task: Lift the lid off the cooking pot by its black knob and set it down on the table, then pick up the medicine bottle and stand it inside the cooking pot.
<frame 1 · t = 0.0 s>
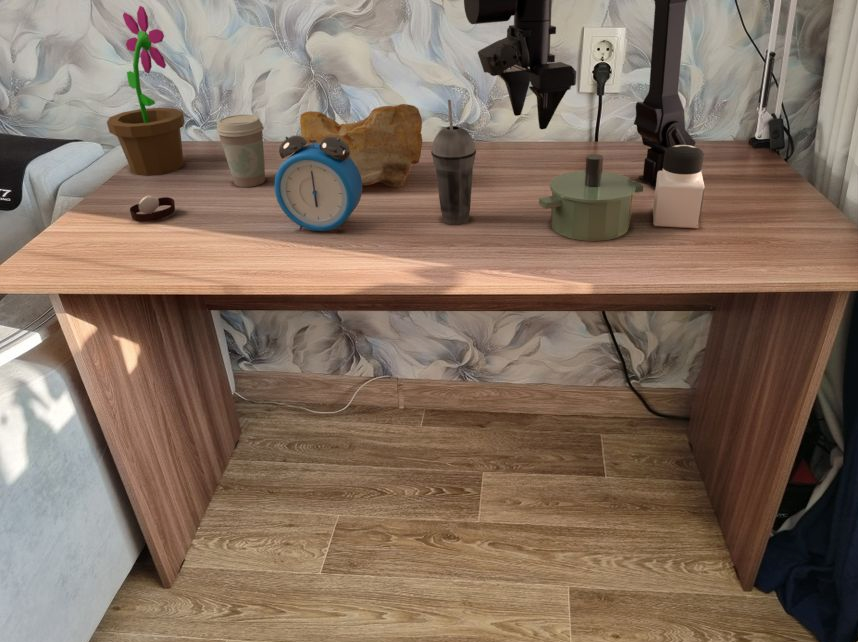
hand: (529, 122, 120), 15 cm above the table, tool pointing down, fingers open, 9 cm apart
beverage cup: (455, 220, 124), on the table
rough brown rock: (372, 180, 142), on the table
flowerpot: (158, 167, 151), on the table
cooking pot: (589, 225, 120), on the table
coffee cup: (250, 183, 142), on the table
lid: (592, 187, 117), point 6 cm above the table, touching cooking pot
watch: (155, 218, 128), on the table
medicine bottle: (674, 220, 122), on the table
alarm clock: (324, 227, 122), on the table
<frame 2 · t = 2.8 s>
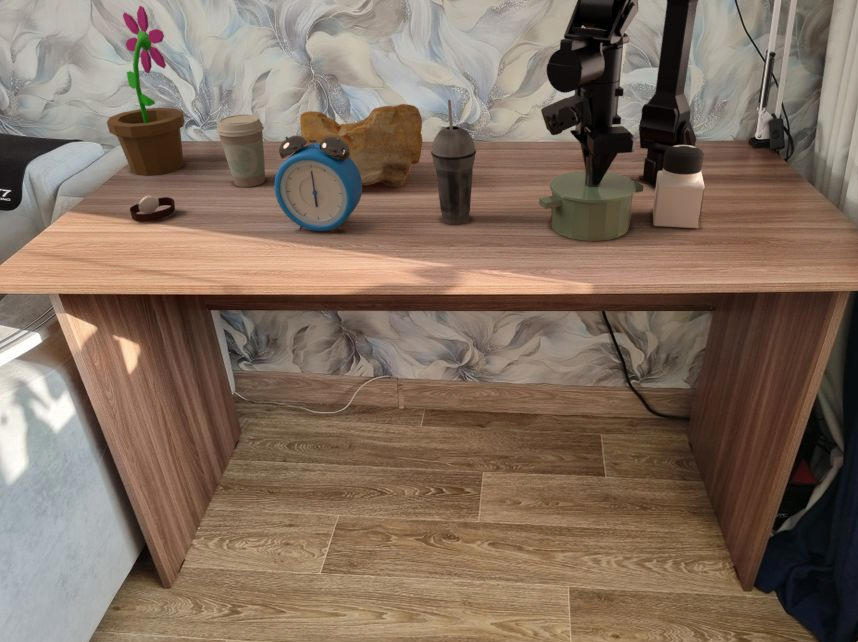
hand: (592, 181, 116), 8 cm above the table, tool pointing down, fingers closed on lid, 2 cm apart
lid: (592, 187, 117), point 6 cm above the table, touching gripper, cooking pot
everything else where it was.
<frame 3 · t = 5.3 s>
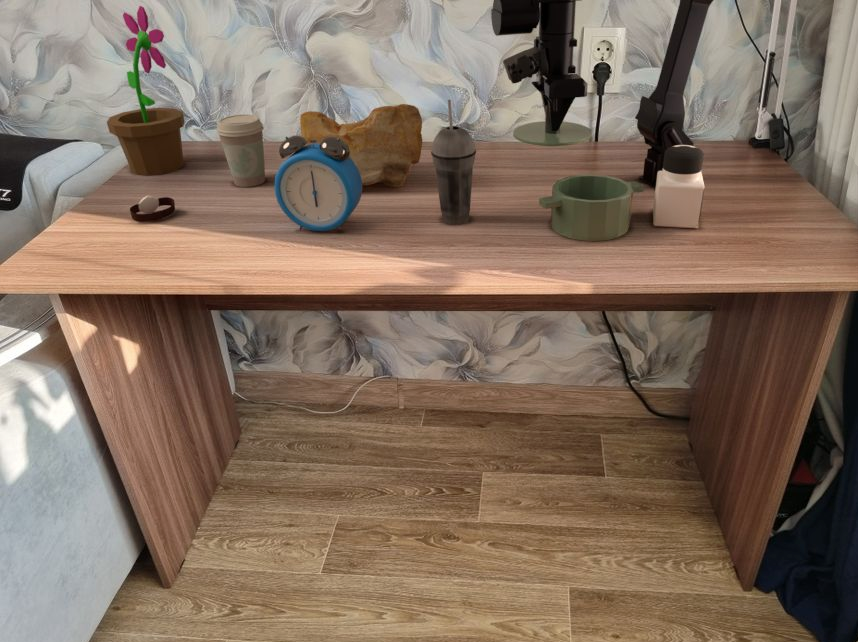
hand: (552, 128, 126), 12 cm above the table, tool pointing down, fingers closed on lid, 3 cm apart
lid: (552, 134, 127), point 11 cm above the table, touching gripper
everything else where it was.
when the fingers open (2 cm above the table, at t = 7.9 s): lid stays where it is, point 1 cm above the table.
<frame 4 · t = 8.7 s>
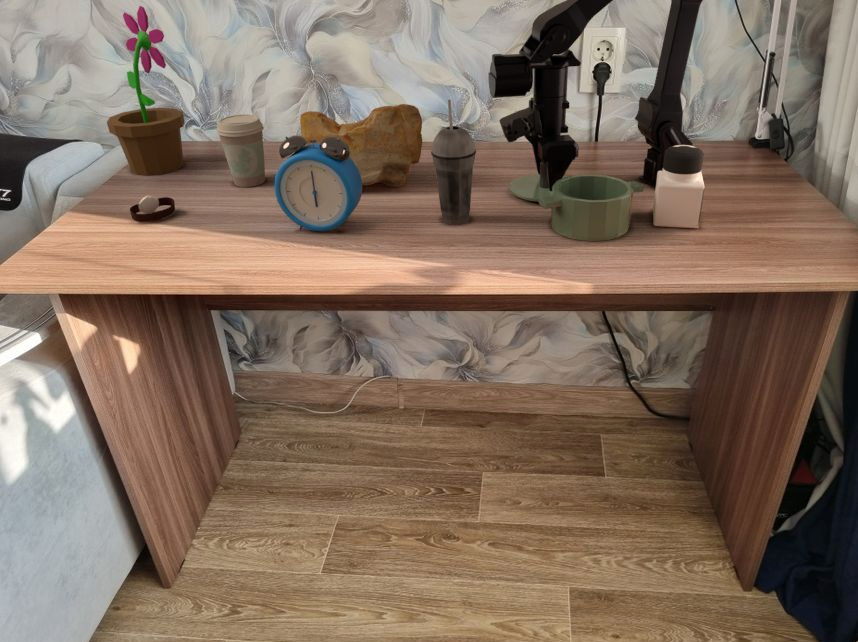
hand: (546, 182, 133), 2 cm above the table, tool pointing down, fingers open, 9 cm apart
lid: (546, 188, 134), point 1 cm above the table
everything else where it was.
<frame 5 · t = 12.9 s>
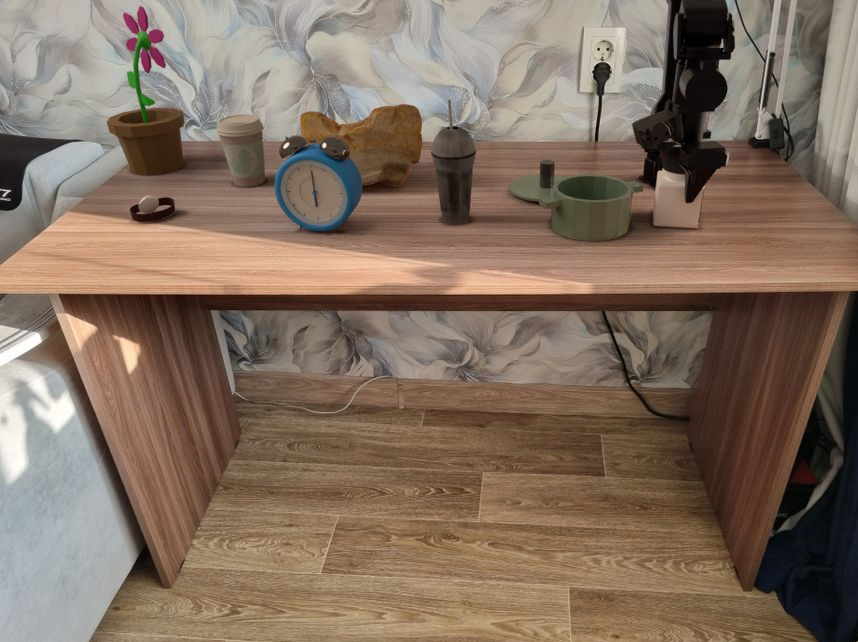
hand: (678, 193, 119), 5 cm above the table, tool pointing down, fingers closed on medicine bottle, 8 cm apart
medicine bottle: (674, 220, 122), on the table, touching gripper
everything else where it was.
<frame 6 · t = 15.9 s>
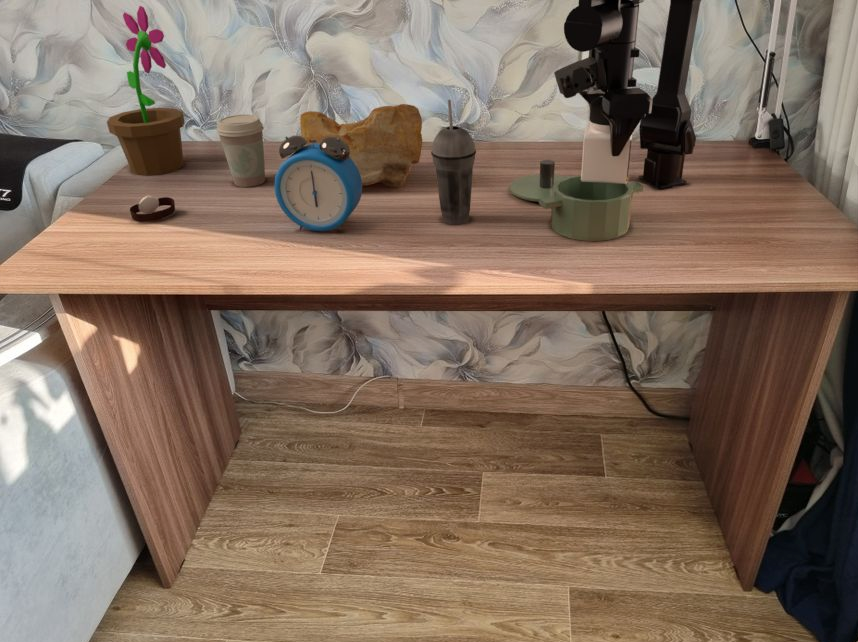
hand: (606, 147, 113), 13 cm above the table, tool pointing down, fingers closed on medicine bottle, 8 cm apart
medicine bottle: (604, 177, 116), point 8 cm above the table, touching gripper
everything else where it was.
when the fingers open (5 cm above the table, at t = 19.0 s): medicine bottle stays where it is, resting on cooking pot.
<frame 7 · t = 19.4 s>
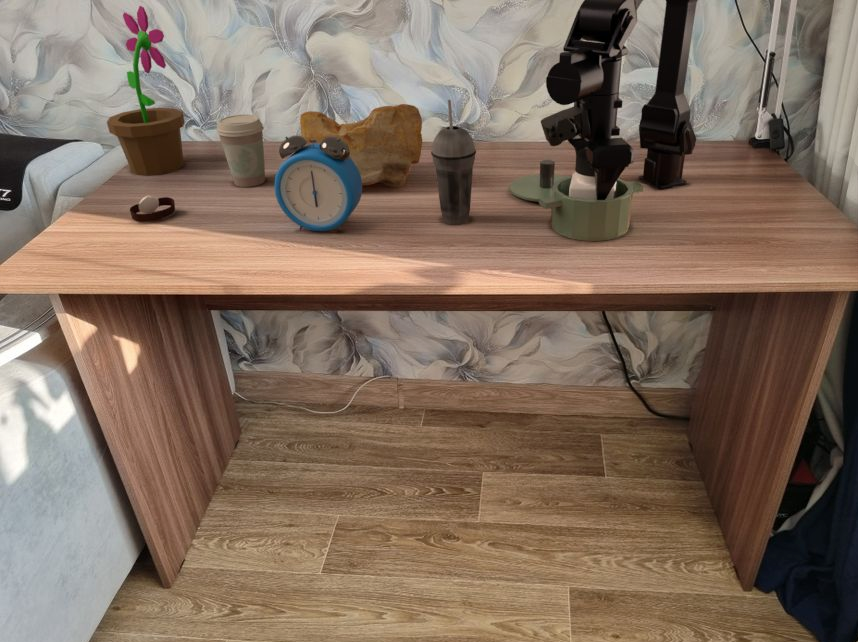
hand: (592, 191, 117), 6 cm above the table, tool pointing down, fingers open, 9 cm apart
medicine bottle: (590, 223, 120), resting on cooking pot
everything else where it was.
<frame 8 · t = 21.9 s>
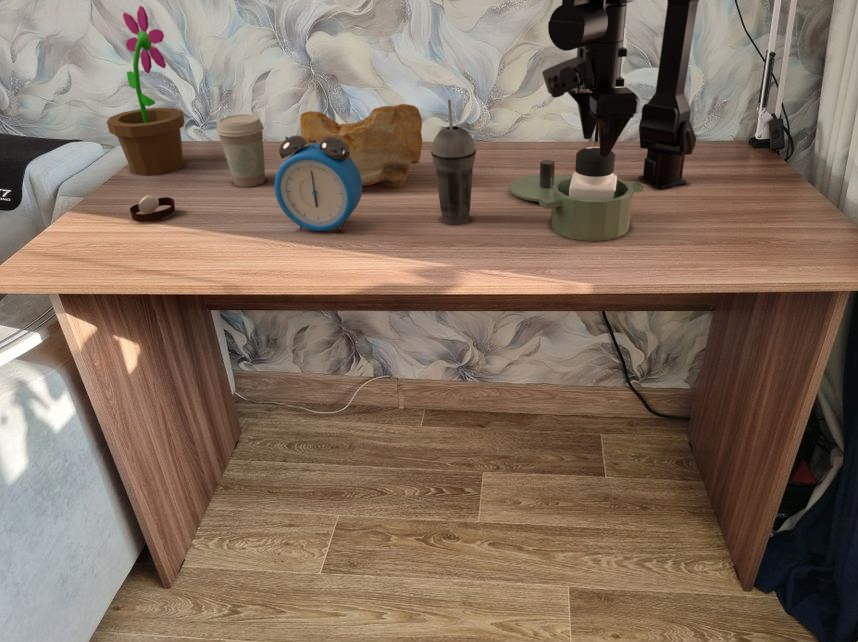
hand: (595, 147, 113), 13 cm above the table, tool pointing down, fingers open, 9 cm apart
nothing on the table moved.
at the end: lid inside the target area (0.0 cm from its centre), point 0.6 cm above the table; medicine bottle 0.2 cm off-centre in the cooking pot, point 0.3 cm above the cooking pot's base; medicine bottle tilted 0° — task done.
